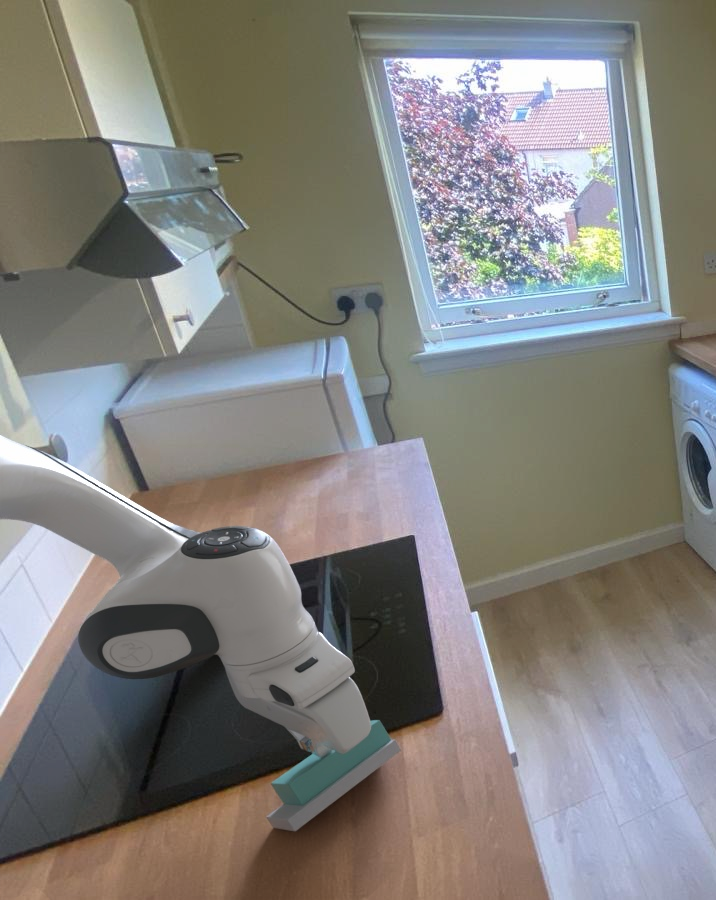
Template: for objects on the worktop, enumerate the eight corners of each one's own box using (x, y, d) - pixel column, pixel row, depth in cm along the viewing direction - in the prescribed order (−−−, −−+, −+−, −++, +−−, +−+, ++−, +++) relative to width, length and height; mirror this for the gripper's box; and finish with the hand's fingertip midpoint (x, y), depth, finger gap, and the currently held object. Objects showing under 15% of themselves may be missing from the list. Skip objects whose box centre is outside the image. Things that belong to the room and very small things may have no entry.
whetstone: (273, 827, 85) (295, 831, 81) (251, 796, 85) (272, 798, 81) (377, 750, 96) (401, 750, 92) (359, 721, 95) (383, 719, 91)
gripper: (194, 653, 84) (239, 742, 89) (306, 703, 75) (348, 798, 81) (251, 620, 89) (291, 707, 95) (362, 664, 80) (397, 755, 86)
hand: (318, 749), depth 88 cm, fingers closed
